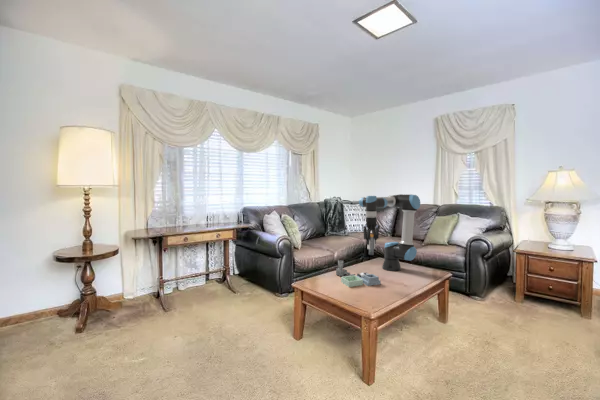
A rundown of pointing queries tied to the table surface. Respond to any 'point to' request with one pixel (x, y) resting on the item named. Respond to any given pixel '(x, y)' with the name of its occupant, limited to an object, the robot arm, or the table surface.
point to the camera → (342, 270)
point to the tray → (351, 281)
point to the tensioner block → (369, 279)
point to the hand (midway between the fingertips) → (371, 248)
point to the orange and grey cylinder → (371, 244)
